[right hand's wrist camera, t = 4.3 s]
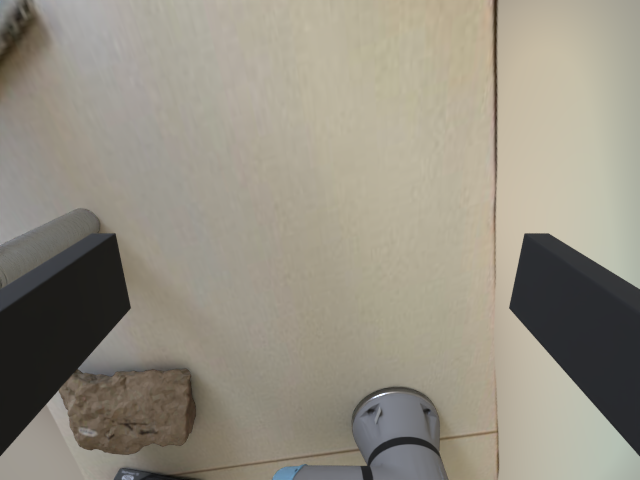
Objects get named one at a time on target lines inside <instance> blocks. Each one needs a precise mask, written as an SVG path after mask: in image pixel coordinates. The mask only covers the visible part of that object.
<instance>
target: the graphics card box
mask: <svg viewBox="0 0 640 480" xmlns="http://www.w3.org/2000/svg"><path fill="white" fill-rule="evenodd" d="M114 480H186V479H180V478H174V477H169V476H163V475H158V474H152V473H147V472H141V471H136V470H129V469H124V468H122V469H120V470H119V471H118V473H117V475H116V477H115V478H114Z"/></svg>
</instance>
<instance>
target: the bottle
mask: <svg viewBox="0 0 640 480" xmlns="http://www.w3.org/2000/svg"><path fill="white" fill-rule="evenodd" d="M99 229H100V223H99V220H98V218H97V217H96V216H95V215H94V214H93V213H92V212H91V211H89V210H86V209H75V210H73V211H71V212H69V213H67V214H65V215H63V216H61V217H58V218H56V219H54V220H52V221H50V222H48V223H46V224H44V225H42V226H39V227H37V228H35V229H33V230H31V231H29V232H27V233H25V234H23V235H20V236H18V237H16V238H14V239H12V240H10V241H8V242H6V243H4V244H1V245H0V289H2V288H3V287H5V286H7V285H8V284H10V283H12V282H13V281H15V280H16V279H18V278H20V277H21V276H23V275H25V274H26V273H28V272H29V271H31V270H33V269H34V268H36V267H38V266H39V265H41V264H43V263H44V262H46V261H47V260H49V259H51V258H52V257H54V256H56V255H57V254H59V253H61V252H62V251H64V250H65V249H67V248H69V247H70V246H72V245H74V244H75V243H77V242H78V241H80V240H82V239H83V238H85V237H87V236H88V235H90V234H97V233H98V232H99Z"/></svg>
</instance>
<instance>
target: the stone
mask: <svg viewBox="0 0 640 480" xmlns="http://www.w3.org/2000/svg"><path fill="white" fill-rule="evenodd" d="M190 377H191V374H190V372H189V370H188V369H181V370H180V369H175V370H168V371H157V370H155V369H152V370H146V371H144V372H136V371H131V372H125V371H120V372H115V374H114V375H113V376H112V377H109V376H106V375H102V374H98V375H93V374H88V373H82V372H81V371H79V370H78V369H77V370H76V371H75V372H74V373H73V374H72V375H71V377H70V378H69V379H68V380H67V381H66V382H65V383H64V384H63V386H62V387H61V388H60V389H59V393H60V395H61V398H62V399H63V402H64V405H65V408H66V409H67V410H68V416H69V420H70V428H71V430H72V431H73V433H74V437H75V439H76V441H77V443H78V445H79V446H80V447H82V448H84V449H87V450H93V449H99V450H102V451H104V452H108V453H112V454H122V455H129V454H133V453H136V452H138V451H139V450H140V449H141V448H142V447H144V446H147V445H150V444H153V443H155V444H158V445H160V446H162V447H163V446H166V445H178V446H181V445H183V444H184V443H185V442H186V440H187V438H188V436H189V433H191V432H192V428H193V423H194V419H195V416H196V409H195V403H194V401H193V399H192V391H191V382H190Z"/></svg>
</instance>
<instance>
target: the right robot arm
mask: <svg viewBox="0 0 640 480" xmlns="http://www.w3.org/2000/svg"><path fill="white" fill-rule="evenodd" d="M509 308H510V310H511V311H512V312H513V313H514V314H515V315H516V316H517V318H518V319H519V320H520V321H521V322H522V323H523V324H524V326H525V327H526V328H527V329H528V330H529V331H530V332H531V333H532V335H533V336H534V337H535V338H536V339H537V340H538V341H539V343H540V344H541V345H542V346H543V347H544V348H545V349H546V350H547V352H548V353H549V354H550V355H551V356H552V357H553V358H554V359H555V361H556V362H557V363H558V364H559V365H560V366H561V367H562V369H563V370H564V371H565V372H566V373H567V374H568V375H569V377H570V378H571V379H572V380H573V381H574V382H575V383H576V384H577V386H578V387H579V388H580V389H581V390H582V391H583V392H584V394H585V395H586V396H587V397H588V398H589V399H590V400H591V402H592V403H593V404H594V405H595V406H596V407H597V408H598V409H599V411H600V412H601V413H602V414H603V415H604V416H605V417H606V419H607V420H608V421H609V422H610V423H611V424H612V425H613V426H614V428H615V429H616V430H617V431H618V432H619V433H620V434H621V435H622V437H623V438H624V439H625V440H626V441H627V442H628V443H629V445H630V446H631V447H632V448H633V449H634V450H635V451H636V453H637V454H638V455H639V456H640V289H638V288H637V287H635V286H633V285H632V284H630V283H628V282H627V281H625V280H624V279H622V278H620V277H619V276H617V275H615V274H614V273H612V272H610V271H609V270H607V269H606V268H604V267H602V266H601V265H599V264H597V263H596V262H594V261H593V260H591V259H589V258H588V257H586V256H584V255H583V254H581V253H579V252H578V251H576V250H575V249H573V248H571V247H570V246H568V245H566V244H565V243H563V242H562V241H560V240H558V239H557V238H555V237H553V236H552V235H550V234H524V239H523V244H522V249H521V253H520V258H519V263H518V268H517V273H516V278H515V282H514V287H513V292H512V297H511V302H510V307H509ZM130 309H131V307H130V302H129V297H128V292H127V287H126V282H125V278H124V273H123V268H122V263H121V258H120V253H119V249H118V244H117V239H116V234H90V235H88V236H87V237H85V238H83V239H82V240H80V241H78V242H77V243H75V244H74V245H72V246H70V247H69V248H67V249H65V250H64V251H62V252H61V253H59V254H57V255H56V256H54V257H52V258H51V259H49V260H47V261H46V262H44V263H43V264H41V265H39V266H38V267H36V268H34V269H33V270H31V271H29V272H28V273H26V274H25V275H23V276H21V277H20V278H18V279H16V280H15V281H13V282H12V283H10V284H8V285H7V286H5V287H3V288H2V289H0V456H1V455H2V454H3V453H4V451H5V450H6V449H7V448H8V447H9V446H10V445H11V443H12V442H13V441H14V440H15V439H16V438H17V437H18V436H19V434H20V433H21V432H22V431H23V430H24V429H25V428H26V426H27V425H28V424H29V423H30V422H31V421H32V420H33V419H34V417H35V416H36V415H37V414H38V413H39V412H40V411H41V409H42V408H43V407H44V406H45V405H46V404H47V403H48V402H49V400H50V399H51V398H52V397H53V396H54V395H55V394H56V392H57V391H58V390H59V389H60V388H61V387H62V386H63V384H64V383H65V382H66V381H67V380H68V379H69V378H70V377H71V375H72V374H73V373H74V372H75V371H76V370H77V369H78V367H79V366H80V365H81V364H82V363H83V362H84V361H85V360H86V358H87V357H88V356H89V355H90V354H91V353H92V352H93V350H94V349H95V348H96V347H97V346H98V345H99V344H100V343H101V341H102V340H103V339H104V338H105V337H106V336H107V335H108V333H109V332H110V331H111V330H112V329H113V328H114V327H115V326H116V324H117V323H118V322H119V321H120V320H121V319H122V318H123V316H124V315H125V314H126V313H127V312H128V311H129V310H130ZM352 431H353V436H354V439H355V442H356V444H357V446H358V448H359V450H360V452H361V454H362V456H363V458H364V460H365V462H366V464H367V466H317V465H307V464H304V465H300V466H292V467H284V468H281V469H280V470H278V471H277V472H276V474H275V475H274V477H273V479H272V480H448V477H447V474H446V471H445V468H444V465H443V462H442V460H441V457H440V454H439V445H440V422H439V417H438V414H437V411H436V408H435V406H434V405H433V403H432V402H431V400H430V399H429V398H428V397H426V396H425V395H424V394H422V393H420V392H418V391H416V390H413V389H409V388H403V387H392V388H386V389H382V390H379V391H376V392H374V393H372V394H370V395H368V396H367V397H365V398H364V399H363V400H362V401H361V402H360V403H359V404H358V405H357V407H356V408H355V410H354V413H353V416H352Z"/></svg>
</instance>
